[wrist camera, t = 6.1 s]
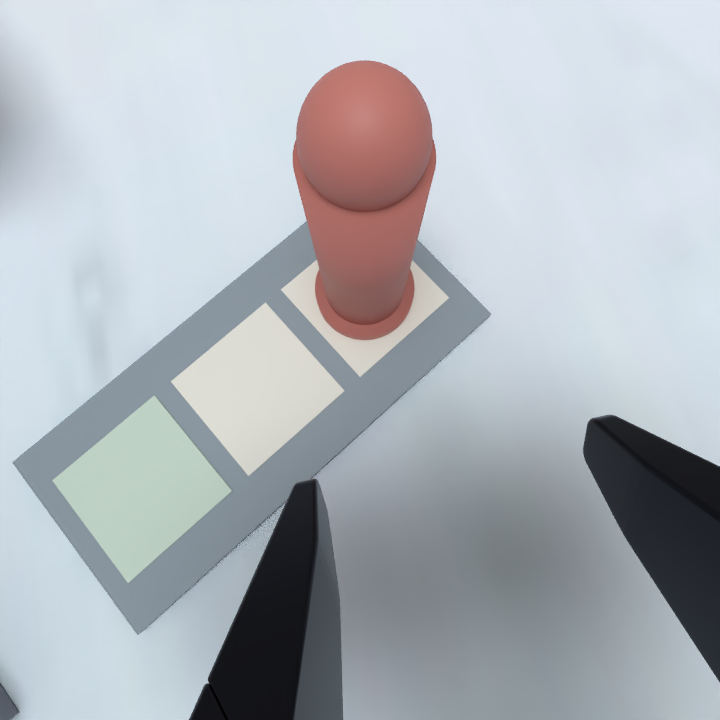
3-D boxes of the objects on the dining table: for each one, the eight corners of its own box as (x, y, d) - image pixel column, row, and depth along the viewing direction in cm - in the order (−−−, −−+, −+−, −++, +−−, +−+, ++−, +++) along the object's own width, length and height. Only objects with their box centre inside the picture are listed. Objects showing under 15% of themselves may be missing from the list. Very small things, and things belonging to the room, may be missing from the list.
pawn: (432, 297, 23) (522, 95, 10) (361, 359, 22) (355, 235, 9) (368, 231, 23) (371, -41, 10) (297, 290, 23) (207, 82, 10)
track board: (488, 316, 23) (491, 313, 23) (142, 631, 20) (136, 635, 20) (357, 183, 25) (357, 178, 24) (18, 462, 22) (10, 462, 21)
